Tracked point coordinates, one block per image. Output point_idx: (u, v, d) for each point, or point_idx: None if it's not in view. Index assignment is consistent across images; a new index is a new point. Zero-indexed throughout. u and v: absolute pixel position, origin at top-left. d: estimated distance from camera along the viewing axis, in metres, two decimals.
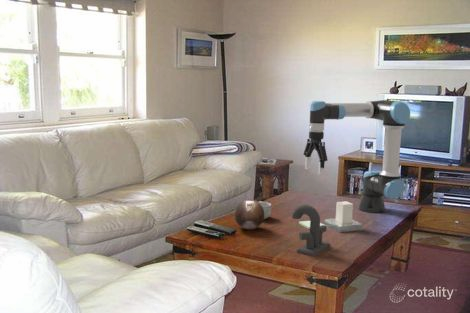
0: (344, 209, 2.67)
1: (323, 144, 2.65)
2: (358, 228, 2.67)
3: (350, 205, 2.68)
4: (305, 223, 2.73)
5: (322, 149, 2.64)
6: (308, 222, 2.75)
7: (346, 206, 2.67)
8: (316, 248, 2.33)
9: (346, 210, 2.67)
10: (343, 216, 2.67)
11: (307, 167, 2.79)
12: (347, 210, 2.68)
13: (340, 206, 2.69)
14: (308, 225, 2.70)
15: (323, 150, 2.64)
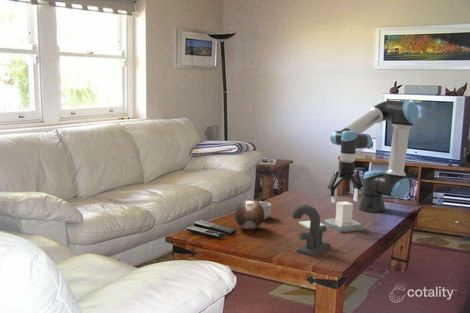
0: (344, 209, 2.67)
1: (335, 173, 2.64)
2: (358, 228, 2.67)
3: (350, 205, 2.68)
4: (305, 223, 2.73)
5: (332, 177, 2.65)
6: (308, 222, 2.75)
7: (346, 206, 2.67)
8: (316, 248, 2.33)
9: (346, 210, 2.67)
10: (343, 216, 2.67)
11: (354, 199, 2.72)
12: (347, 210, 2.68)
13: (340, 206, 2.69)
14: (308, 225, 2.70)
15: (332, 179, 2.64)
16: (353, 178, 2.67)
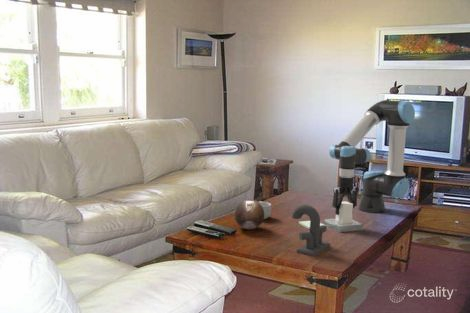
0: (344, 209, 2.67)
1: (335, 191, 2.66)
2: (358, 228, 2.67)
3: (350, 205, 2.68)
4: (305, 223, 2.73)
5: (334, 196, 2.67)
6: (308, 222, 2.75)
7: (346, 206, 2.67)
8: (316, 248, 2.33)
9: (346, 210, 2.67)
10: (343, 215, 2.67)
11: None
12: (347, 210, 2.68)
13: (340, 206, 2.69)
14: (308, 225, 2.70)
15: (334, 197, 2.67)
16: (350, 194, 2.68)
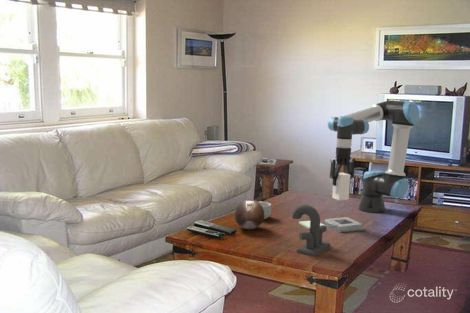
0: (341, 180, 2.64)
1: (332, 161, 2.63)
2: (358, 228, 2.67)
3: (347, 176, 2.65)
4: (305, 223, 2.73)
5: (331, 166, 2.65)
6: (308, 222, 2.75)
7: (343, 177, 2.65)
8: (316, 248, 2.33)
9: (343, 180, 2.65)
10: (340, 186, 2.65)
11: None
12: (344, 181, 2.65)
13: (337, 177, 2.66)
14: (308, 225, 2.70)
15: (332, 168, 2.64)
16: (348, 165, 2.66)
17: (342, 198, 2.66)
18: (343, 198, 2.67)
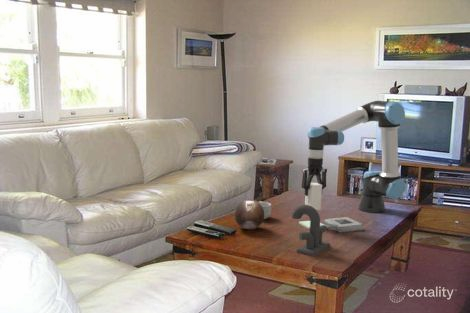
0: (313, 190, 2.67)
1: (304, 172, 2.66)
2: (358, 228, 2.67)
3: (319, 186, 2.68)
4: (305, 223, 2.73)
5: (303, 176, 2.68)
6: (308, 222, 2.75)
7: (315, 187, 2.67)
8: (316, 248, 2.33)
9: (315, 190, 2.68)
10: (312, 196, 2.67)
11: None
12: (316, 191, 2.68)
13: (309, 187, 2.69)
14: (308, 225, 2.70)
15: (303, 178, 2.67)
16: (320, 175, 2.69)
17: None
18: (315, 208, 2.69)
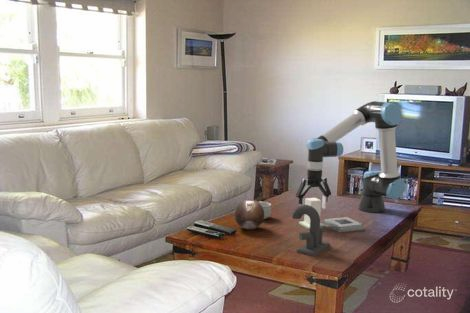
0: (312, 206, 2.68)
1: (303, 181, 2.67)
2: (358, 228, 2.67)
3: (318, 201, 2.69)
4: (305, 223, 2.73)
5: (300, 185, 2.68)
6: None
7: (314, 202, 2.69)
8: (316, 248, 2.33)
9: (314, 206, 2.69)
10: None
11: (323, 206, 2.75)
12: (315, 206, 2.69)
13: (308, 203, 2.70)
14: (308, 225, 2.70)
15: (300, 187, 2.67)
16: (321, 186, 2.70)
17: None
18: None
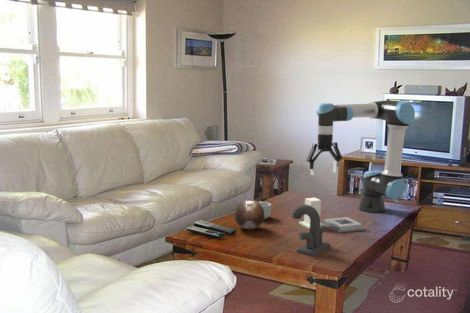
0: (312, 206, 2.68)
1: (313, 145, 2.67)
2: (358, 228, 2.67)
3: (318, 201, 2.69)
4: (305, 223, 2.73)
5: (311, 150, 2.68)
6: None
7: (314, 202, 2.69)
8: (316, 248, 2.33)
9: (314, 206, 2.69)
10: None
11: (334, 171, 2.75)
12: (315, 206, 2.69)
13: (308, 203, 2.70)
14: (308, 225, 2.70)
15: (311, 151, 2.67)
16: (332, 150, 2.70)
17: None
18: None
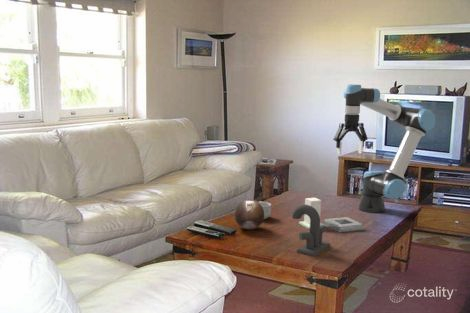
0: (312, 206, 2.68)
1: (341, 125, 2.74)
2: (358, 228, 2.67)
3: (318, 201, 2.69)
4: (305, 223, 2.73)
5: (338, 129, 2.75)
6: None
7: (314, 202, 2.69)
8: (316, 248, 2.33)
9: (314, 206, 2.69)
10: None
11: (359, 151, 2.82)
12: (315, 206, 2.69)
13: (308, 203, 2.70)
14: (308, 225, 2.70)
15: (338, 131, 2.74)
16: (358, 130, 2.77)
17: None
18: None
